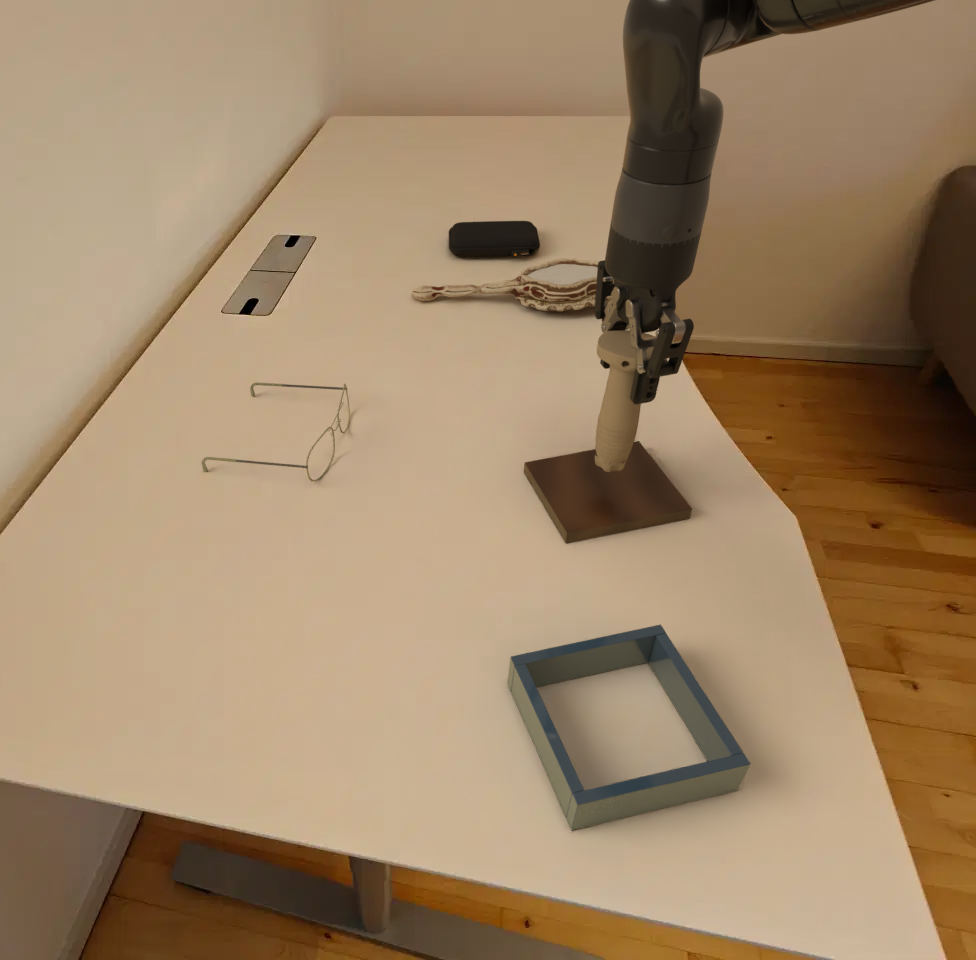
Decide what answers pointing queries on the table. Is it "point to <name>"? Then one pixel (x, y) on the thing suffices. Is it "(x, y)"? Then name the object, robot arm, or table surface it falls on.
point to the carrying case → (493, 239)
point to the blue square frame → (642, 792)
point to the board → (605, 494)
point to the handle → (617, 401)
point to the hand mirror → (535, 286)
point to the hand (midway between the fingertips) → (625, 382)
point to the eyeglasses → (312, 446)
